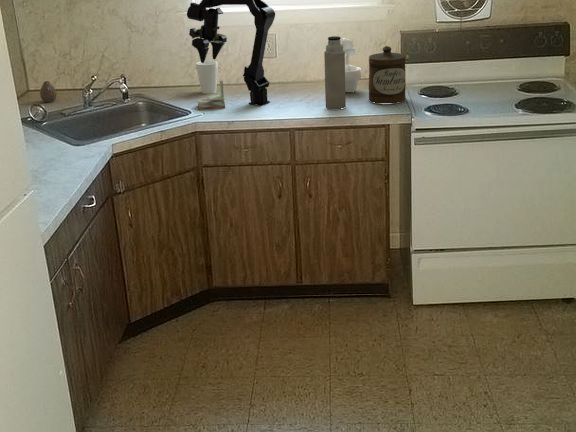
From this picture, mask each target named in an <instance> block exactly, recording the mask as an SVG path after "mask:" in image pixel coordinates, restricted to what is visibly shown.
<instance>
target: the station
mask: <svg viewBox="0 0 576 432" xmlns="http://www.w3.org/2000/svg"><path fill="white" fill-rule="evenodd" d="M202 98H203V97H202ZM202 98H197V101H198V100H199V99H202ZM225 104H226V103H225V100H213V101H212V102H204V103H198V102H197V109H198V111H204V110H205V111H206V110H217V109H218V110H219V109H221V110H222V109H226V105H225Z"/></svg>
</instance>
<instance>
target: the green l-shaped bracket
mask: <svg viewBox="0 0 576 432" xmlns="http://www.w3.org/2000/svg"><path fill="white" fill-rule="evenodd" d="M219 85H220V86H219V87H220V94H219V95H218V94H217V95H209V97H208V98H210V101H213V100H224V101H225V99H226V98H225V94H224V81H223V78H220V79H219Z"/></svg>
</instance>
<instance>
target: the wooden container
mask: <svg viewBox="0 0 576 432" xmlns="http://www.w3.org/2000/svg"><path fill="white" fill-rule="evenodd" d="M382 51H383V52H380V53H379V52H378V53H374V54H371V55H369V56H368V101H369V100H370V101H371V102H375V103H397V102H401V103H403V102H402V101H404V100H405V101H406V86H407V85H406V83H407V82H406V79H407V78H406V54H404V53H399V52H391V51H392V47H391V46H388V45H386V46H384V47H383V48H382ZM370 101H369V102H370ZM405 101H404V102H405ZM371 102H370V103H371ZM375 103H374V104H375Z"/></svg>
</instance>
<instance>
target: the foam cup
mask: <svg viewBox="0 0 576 432" xmlns="http://www.w3.org/2000/svg"><path fill="white" fill-rule="evenodd" d="M218 64H219V63H218V61H216V60H205V61H204V63H201V60H200V61H197V62H196V63H195V69H196V72H197V76H198V82H199V86H200V90H201V93H202V94H207V95H208V94H209V95H210V94H214V93H216V92H217V83H218V82H217V80H218V67H219V65H218Z"/></svg>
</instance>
